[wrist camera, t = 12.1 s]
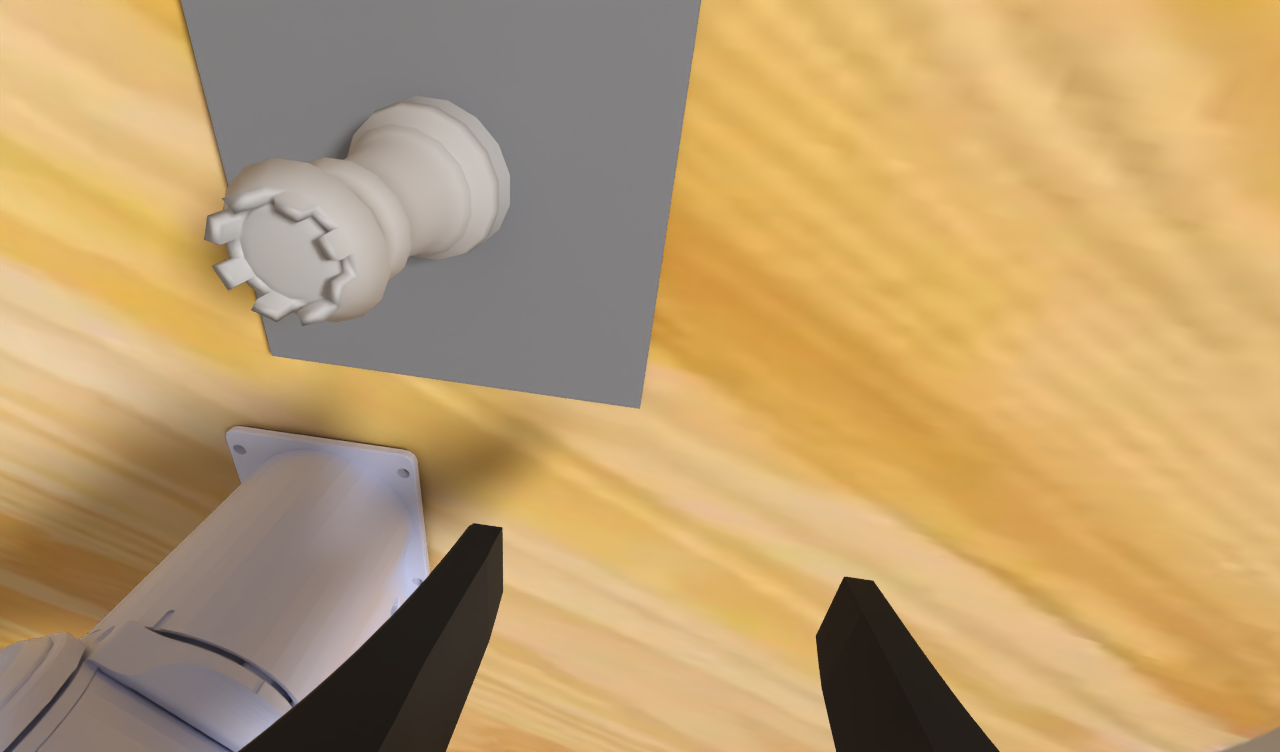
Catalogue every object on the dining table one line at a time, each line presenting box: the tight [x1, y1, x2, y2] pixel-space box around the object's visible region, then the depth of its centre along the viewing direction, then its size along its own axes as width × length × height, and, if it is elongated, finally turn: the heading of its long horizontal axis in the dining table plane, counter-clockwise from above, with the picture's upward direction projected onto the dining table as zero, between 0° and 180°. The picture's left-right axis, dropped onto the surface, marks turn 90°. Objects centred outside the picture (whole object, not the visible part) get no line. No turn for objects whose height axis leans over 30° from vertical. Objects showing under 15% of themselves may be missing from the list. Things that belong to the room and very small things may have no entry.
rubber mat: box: [181, 0, 701, 409], centre depth 17 cm, size 14×14×1 cm
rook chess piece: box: [204, 96, 510, 326], centre depth 13 cm, size 4×4×8 cm
